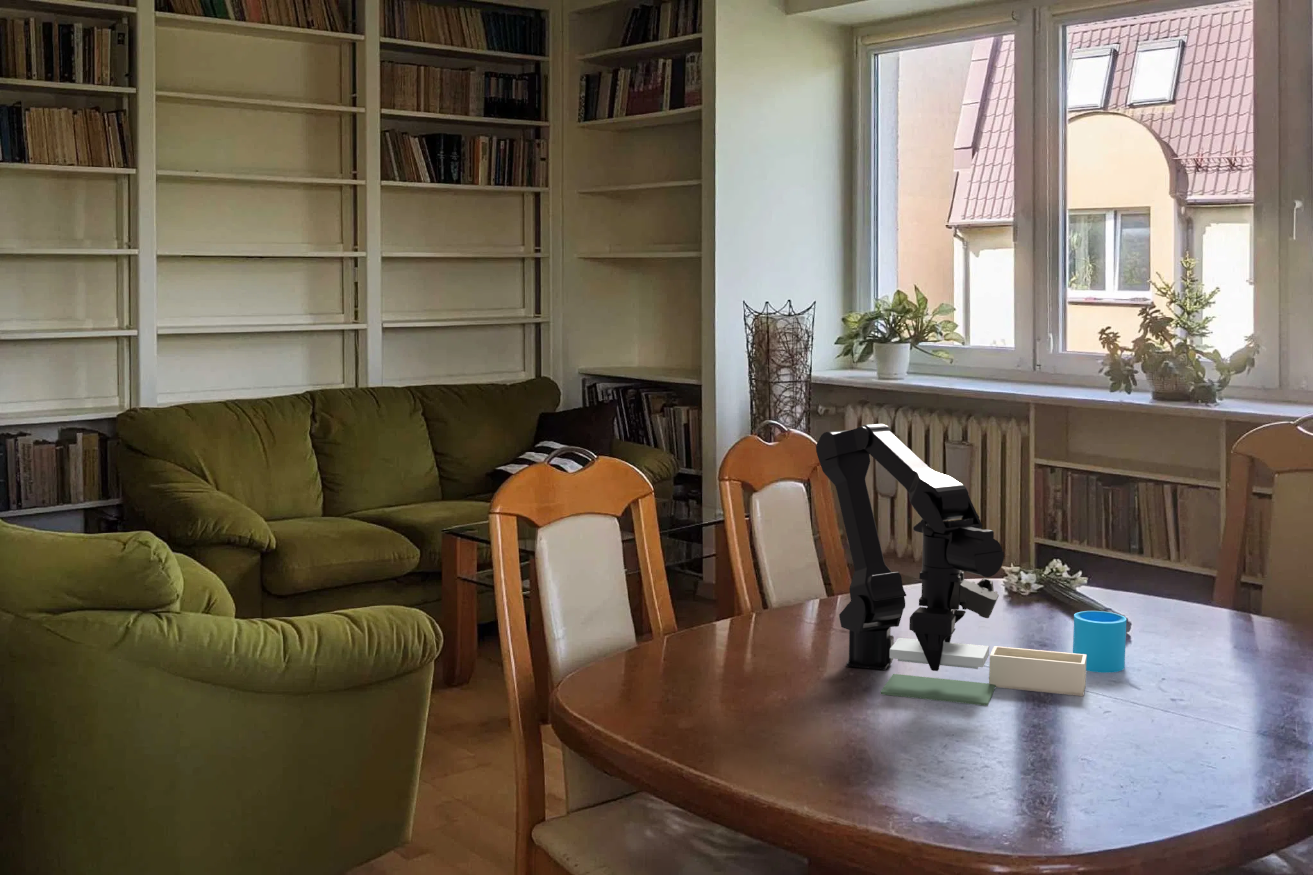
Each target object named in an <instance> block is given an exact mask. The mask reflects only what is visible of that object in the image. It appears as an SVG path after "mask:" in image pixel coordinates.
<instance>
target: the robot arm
mask: <svg viewBox="0 0 1313 875" xmlns="http://www.w3.org/2000/svg"><path fill="white" fill-rule="evenodd" d="M815 451H816V456H817V458H818V461H819V464H820V467H821V470H822V473H823V474H824V475H825V476H826V477H827V478H828V479H829V481H831V483H832V484H833V485H834V486H835V489H836V493H837V498H838V501H839V506H840V511H841V515H842V520H843V524H844V528H845V533H846V538H847V541H848V546H849V550H850V555H851V559H852V564H853V568H854V572H853V575H852V578H851V582H850V584H849V585H850V586H849V595H850V596H849V597H850V601H849V602H848V604H847V605H846V606H845V607H844V609H842V610H841V612H840V613H839V614H838V617H839V622H840V626H841V628H842V629H846V630H848V631H849V632H848V660H847V662H845V667H846V666H847V667H852V668H861V669H870V670H871V669H872V670H886V669H887V668H888V667H889V666H890V665H891V664H892V662H893V660H894V659H893V658H890V648H891V647H892V646H893V644H894V643H895V638H894V636H893V635H891V631H892V630H891V628H894V627H895V628H896V627H899V626H900V623H901V619H902V615H903V612H904V609H906V599H905V597H907V593H906V592H905V589H904V586H903V579H902V578H903V577H902V575H901V574H900V571H893V572H892V570H891V569H890V568H889V567H888V566H887V565H886V563H885V560H884V555H883V550H882V545H881V542H880V541H881V540H880V537H879V532H878V529H877V525H876V524H877V523H876V521H875V516H874V512H873V507H872V503H871V499H870V495H869V491H868V487H867V486H868V485H867V482H866V480H867V479H866V478H867V474H868V471H869V468H870V465H871V457H872V458H873V459H874V460H875V461H876V462H877V463H878V464H880V465H881V466H882V467H883V468H884V469H885V470H886V471H887V472H888V473H889V474H890V476H892V477H893V478H894V479H895V480H896V481H897V482H898V483H899V484H901V486H902V487H904V489H905V490H906V491H907V493H908V499H909V503H910V505H911V506H912V507H913V509H914V511H915V512H916V513H917V514H918V516H919V517H920V519H921V520H920V521H919V522H918V523H917V524H915V525H914V526H913V527H912V528H913V532H917V533H922V552H921V553H922V555H921V556H922V562H921V563H922V564H921V571H920V572H919V580H921V595H920V596H921V597H919V598H918V606H919V607H918V608H917V609H916V610H914V611H913V612H912V614H911V615H910V616H909V629H908V630H910V631H912V633H913V634H915V636H916V639H918V641H919V643H920V645H921V647H922V650H923V652H924V654H925V657H926V659H927V661H928V664H927V665H928V666H929V669H930V670H931V671H933V672H938V671H939V670H940V667H941V665H940V662H941V657H942V652H943V648H944V643H945V642H950V643H951V640H952V637H953V634H954V632H955V630H956V628H955V627H956V626H955V625H956V623H958V622H959V621H960V620H961V619H962V618H963V617H964V616H965V614H966V613H967V611H966V610H969V611H970V612H973V613H975V614H978V616H979V617H981V618H983V619H989V618H990V617H991V615H992V613H993V611H994V608H995V606H996V604H997V601H998V599H999V596H1000V595H999V594H998V591H997V590H994V589H995V588H994V581H993V580H991V579H988V578H990V577H993V576H995V575H996V574H997V573H998V572H999V571H1000V570H1001V567H1002V566H1003V563H1004V559H1005V558H1004V557H1005V556H1004V555H1005V553H1004V551H1003V548H1002V545H1001V543H1000V542H999V540H997V539H995V535H994V533H995V532H994V530H991V529H983V524H982V522H981V519H980V516H979V514H978V513H977V510H976V508H975V506H974V503H973V502H972V500H971V497H970V496H969V491H968V489H967V487H966V486H965V484H963V483H962V482H959V481H958V480H956V479H955V478H954V477H952V476H950V475H948V474H944V473H941V472H939V471H936V470H934V469H932V468H930V467H929V466H928V464H926V463H925V462H924V461H923V460H922V459H921V458H919V456H917V455H916V454H915V453H914V452H913V451H912V450H911V449H910V448H909V447H908V446H906V445H905V444H904V443H903V442H902V440H900V439H899V438H898V437H897V436H895V434H894V433H893V432H892V429H891V428H890V427H889V425H887V424H884V423H873V424H872V423H871V424H863V425H861V426H859V427H856V428H853V429H848V430H834V431H832V430H831V431H825V432H823V433H822V434H821V435H820V437H819V440H817V442H816V446H815ZM965 573H969V574H973V575H976V576H980V577H983V578H982V579H981V580H979V581H978V582H977V583H976V582H975V581H972V582H971V581H969V580H966V579H965ZM960 606H961V608H962V610H961V609H960Z"/></svg>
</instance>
